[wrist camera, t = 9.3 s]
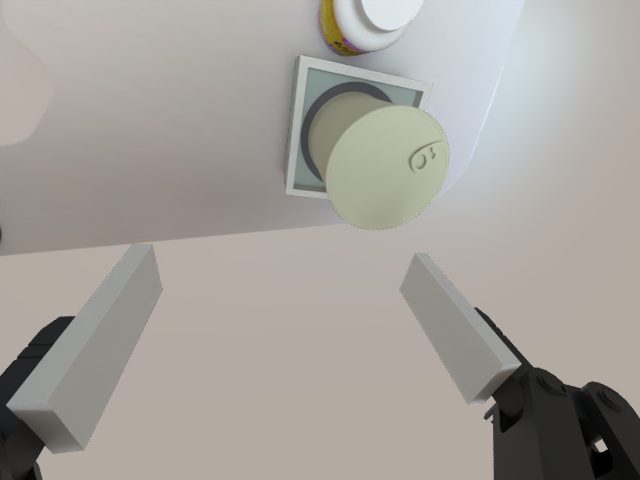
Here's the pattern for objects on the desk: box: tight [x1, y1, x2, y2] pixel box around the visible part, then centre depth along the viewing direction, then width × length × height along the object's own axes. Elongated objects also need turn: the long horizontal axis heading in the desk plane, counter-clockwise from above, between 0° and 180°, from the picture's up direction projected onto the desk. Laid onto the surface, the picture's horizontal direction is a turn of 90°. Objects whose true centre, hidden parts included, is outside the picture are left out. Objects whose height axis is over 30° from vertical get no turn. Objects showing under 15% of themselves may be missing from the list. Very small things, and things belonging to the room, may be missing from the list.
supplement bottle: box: [318, 0, 424, 56], centre depth 22 cm, size 7×7×13 cm
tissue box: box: [284, 55, 434, 199], centre depth 30 cm, size 13×13×8 cm
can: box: [308, 92, 449, 230], centre depth 23 cm, size 9×9×12 cm
